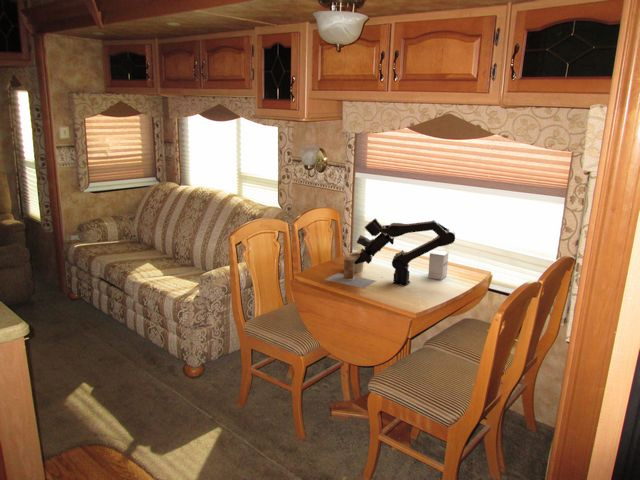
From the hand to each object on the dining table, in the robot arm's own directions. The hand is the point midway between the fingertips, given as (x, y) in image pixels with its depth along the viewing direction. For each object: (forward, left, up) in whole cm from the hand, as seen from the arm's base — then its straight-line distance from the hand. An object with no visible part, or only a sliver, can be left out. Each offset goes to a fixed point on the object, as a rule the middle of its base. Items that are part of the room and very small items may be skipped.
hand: (355, 263), depth 251 cm
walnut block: (+3, +1, -8) cm, 8 cm away
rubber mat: (+1, +3, -8) cm, 9 cm away
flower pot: (+6, -12, -8) cm, 16 cm away
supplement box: (-32, -27, -8) cm, 43 cm away
